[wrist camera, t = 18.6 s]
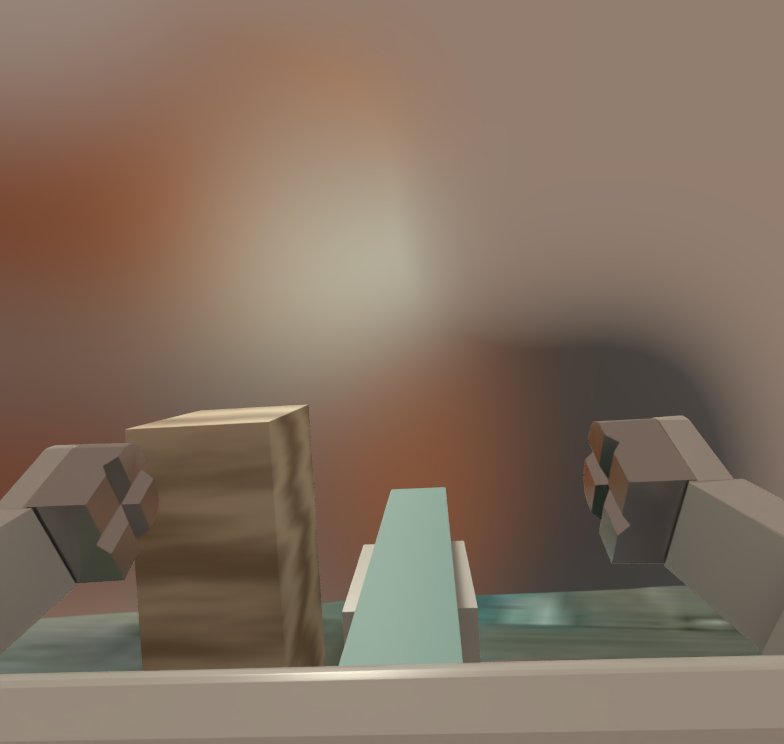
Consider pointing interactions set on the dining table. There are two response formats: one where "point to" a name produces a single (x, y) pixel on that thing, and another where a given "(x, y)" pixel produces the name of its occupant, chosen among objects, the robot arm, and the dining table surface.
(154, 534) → the birch stand
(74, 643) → the dining table surface
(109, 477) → the robot arm
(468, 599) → the grey slot box
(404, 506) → the teal board
